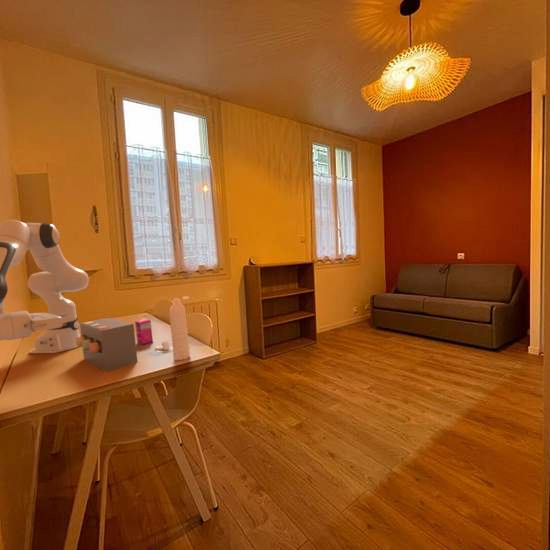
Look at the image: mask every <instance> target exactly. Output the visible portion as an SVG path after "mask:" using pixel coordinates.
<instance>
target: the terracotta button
mask: <svg viewBox="0 0 550 550" xmlns="http://www.w3.org/2000/svg"><path fill="white" fill-rule="evenodd" d="M89 351H90V353H91V354H93V353H97V352H100V351H101V346H100V343H99V342H94V343H90V344H89Z"/></svg>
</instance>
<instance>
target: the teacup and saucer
mask: <svg viewBox="0 0 550 550" xmlns="http://www.w3.org/2000/svg"><path fill="white" fill-rule="evenodd" d="M154 348H155V350H156V352H157V353H161V351H163V353H167V352H172V351H173V346H171V343H170V341H169V340H162V341H161V345H157V346H155V347H154Z"/></svg>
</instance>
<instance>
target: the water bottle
mask: <svg viewBox="0 0 550 550" xmlns="http://www.w3.org/2000/svg"><path fill="white" fill-rule="evenodd" d="M182 299H183V300H184V301H185V300H189V299H190V296H183V297H182ZM169 320H170V334H171V342H172V343H171V344H172V346H171V347H173V350H172V354H173V357H172V358H173V360H174V361H184V360H186V358H187V359H189V358H190V357H189V356H191V355H190V353H191V352H190V347H189V346H190V344H189V334H188V331H189V330H188V322H187V309H186V307H185V306H184V304H182V302H181V300H180V298H179V297H178V298H176V297H175V298H173V304H172V305H171V306H170V309H169ZM188 357H189V358H188ZM183 359H184V360H183Z"/></svg>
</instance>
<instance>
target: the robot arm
mask: <svg viewBox="0 0 550 550" xmlns="http://www.w3.org/2000/svg"><path fill="white" fill-rule="evenodd" d="M60 239H61V236H60V231H59V229H58V228H57V226H55V225H54V224H53V223H46V222H42V223H39V222H22V221H20V220H18V219H7V220H3V221H2V222H1V223H0V341H13V340H18V339H23V338H29V337H31V334H32V333H35V332H38V331H39V332H40V331H44V332H43V333H41V334H40V335H39V336H38V337H36V339H35V341H34V347H33V348H32V349H30V350H29V354H57V353H60V352H65V351H70V350H73V349H77V348H79V347H78V346H77V343H76V338H78V337H81V332H80V330H79V328H80V323H79V319H78V317H77V308H76V304H75V302H74V301H72V300H70V299H68V298H65V297H64V296H63V295H62V293H67V292H68V293H69V292H77V291H81V290H85V289H87V287H88V286H89V284H90V278H89V275H88V273H87V272H86V271H85V270H82V269H80V268H78V267H75V265H72V264H71V263H70V262H69V261H68V260H67V259H66V258H65V256H64V255H63V253H62V250H61V247H60V246H59V245H60V244H59V243H60ZM28 251H29V252H30V254H31V256H32V258H33V260H34V262H35V264H36V266H37V267H38V268H39V270H42V271H40V272H35V273H32V274H30V276H29V277H28V280H27V287H28V289H29V290H30V291H31V292H32V293H34V294H36V295H37V296H38V297H39V298H41V299H42V300H43V301H44V302H45V304H46V306H47V309H48V312H33V313H29V312H28V310H22V311H21V310H19V311H13V312H4V309H5V302H6V301H5V300H6V297H7V294H8V290H9V289H8V283H7V281H6V276H7V273H8V272H9V271H8V270H9V269H10V267H16V266H18V265H20V264H21V262H22V261H23V260H24V258H25V256H26V254H27V252H28Z"/></svg>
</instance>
